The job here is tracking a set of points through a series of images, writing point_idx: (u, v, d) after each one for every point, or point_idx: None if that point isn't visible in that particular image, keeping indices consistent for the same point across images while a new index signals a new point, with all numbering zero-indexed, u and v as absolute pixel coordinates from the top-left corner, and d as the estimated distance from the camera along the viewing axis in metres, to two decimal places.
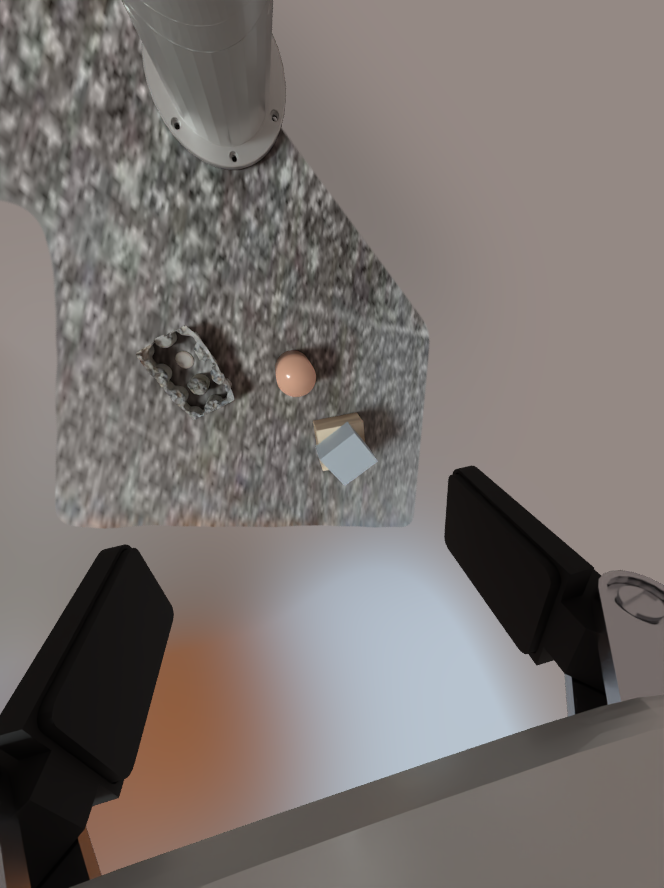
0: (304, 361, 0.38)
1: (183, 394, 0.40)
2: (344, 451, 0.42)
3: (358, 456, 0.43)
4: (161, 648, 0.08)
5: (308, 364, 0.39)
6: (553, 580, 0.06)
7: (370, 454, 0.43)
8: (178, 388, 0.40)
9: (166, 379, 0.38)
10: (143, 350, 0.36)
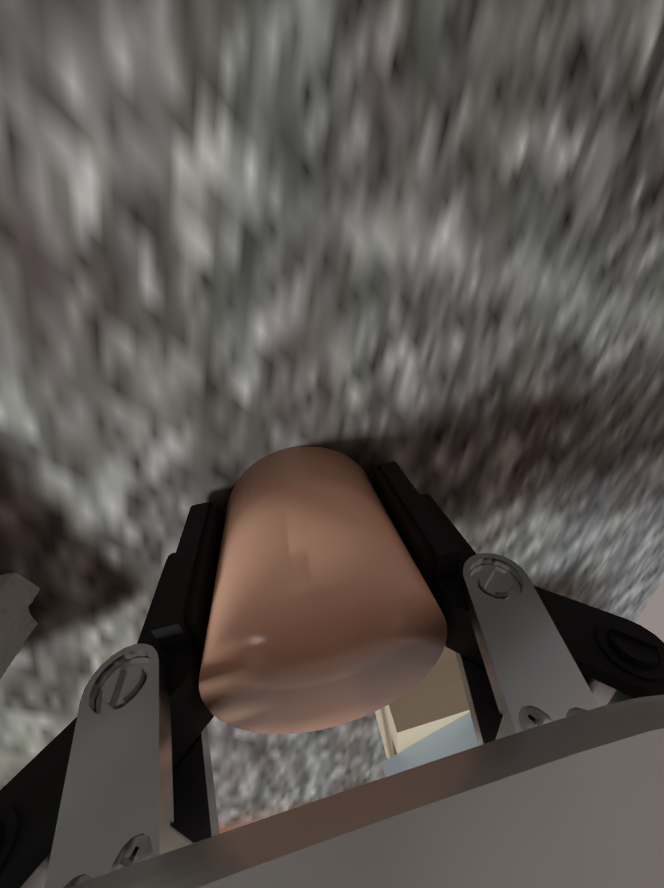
0: (392, 592, 0.05)
1: None
2: None
3: None
4: None
5: (415, 602, 0.06)
6: (429, 562, 0.07)
7: None
8: None
9: None
10: None
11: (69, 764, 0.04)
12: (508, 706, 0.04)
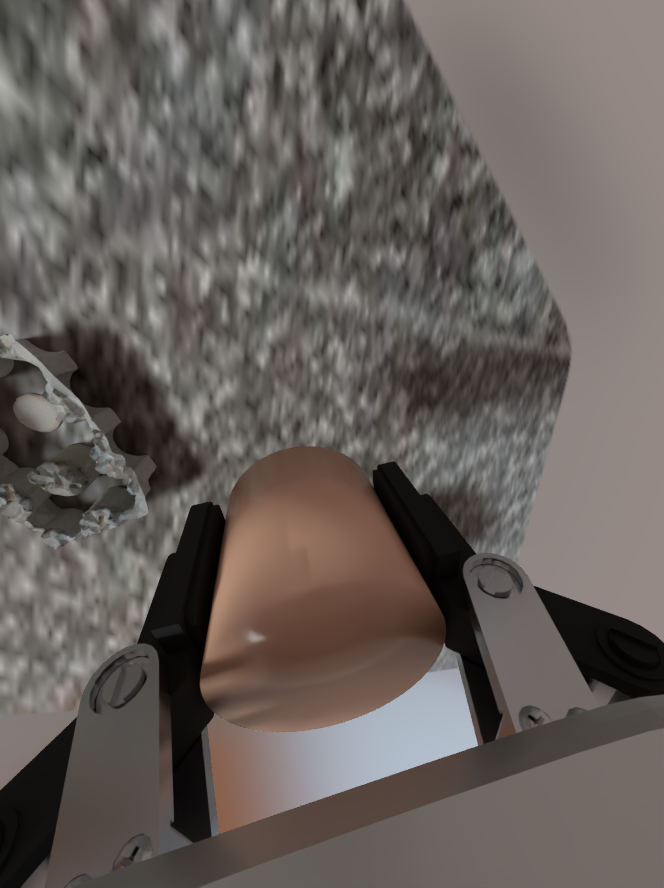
0: (392, 591, 0.06)
1: (24, 494, 0.17)
2: None
3: None
4: None
5: (414, 601, 0.06)
6: (429, 562, 0.07)
7: None
8: (18, 478, 0.17)
9: None
10: None
11: (68, 764, 0.04)
12: (508, 706, 0.04)
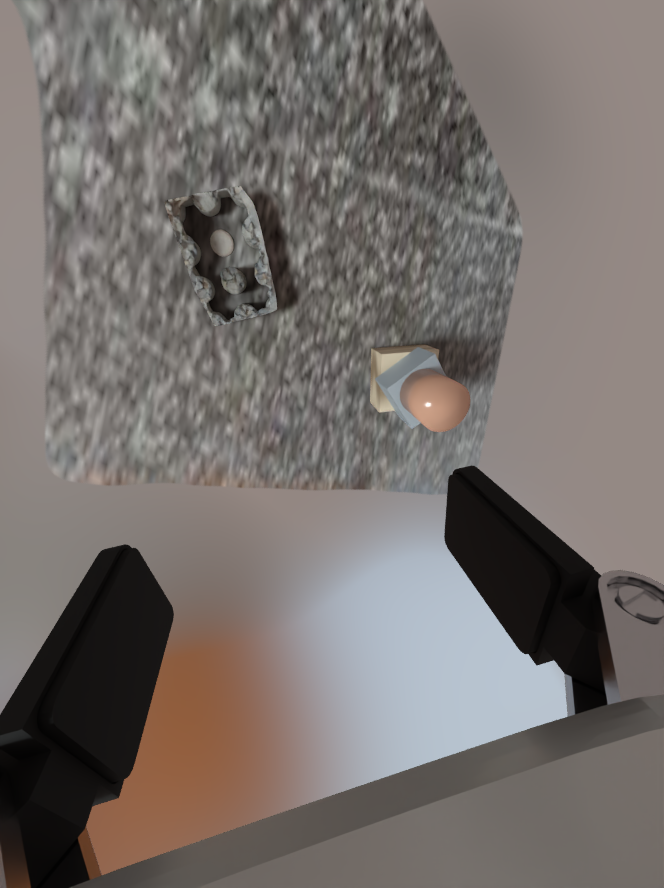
0: (461, 386, 0.28)
1: (210, 285, 0.30)
2: None
3: None
4: (161, 648, 0.08)
5: (465, 391, 0.28)
6: (553, 580, 0.06)
7: None
8: (205, 278, 0.30)
9: (194, 256, 0.28)
10: (175, 202, 0.26)
11: None
12: None
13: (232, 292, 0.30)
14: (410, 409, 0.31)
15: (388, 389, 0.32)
